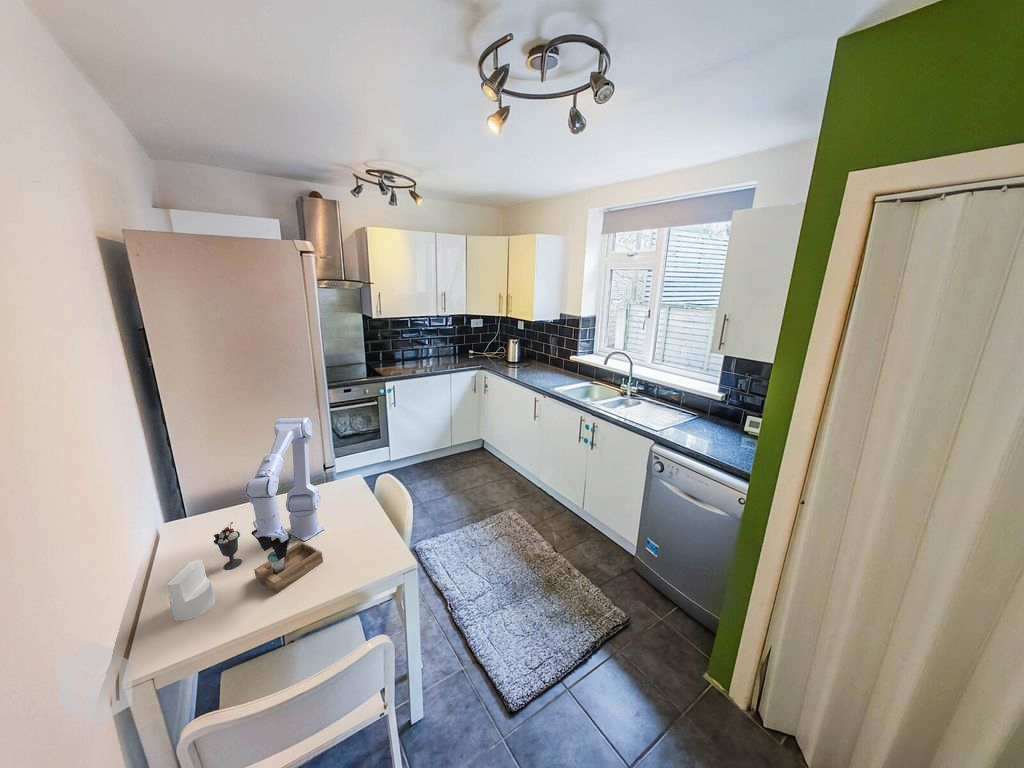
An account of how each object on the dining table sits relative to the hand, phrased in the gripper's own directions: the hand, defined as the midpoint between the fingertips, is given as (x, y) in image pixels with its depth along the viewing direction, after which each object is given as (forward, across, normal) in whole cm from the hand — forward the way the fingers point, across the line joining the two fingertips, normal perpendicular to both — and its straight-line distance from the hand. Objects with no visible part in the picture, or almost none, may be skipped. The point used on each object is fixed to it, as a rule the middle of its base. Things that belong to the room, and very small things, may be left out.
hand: (274, 553), depth 114 cm
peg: (+8, 0, 0) cm, 8 cm away
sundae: (+9, -19, -4) cm, 21 cm away
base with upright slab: (+9, -10, -18) cm, 23 cm away
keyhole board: (+9, 0, +4) cm, 10 cm away
